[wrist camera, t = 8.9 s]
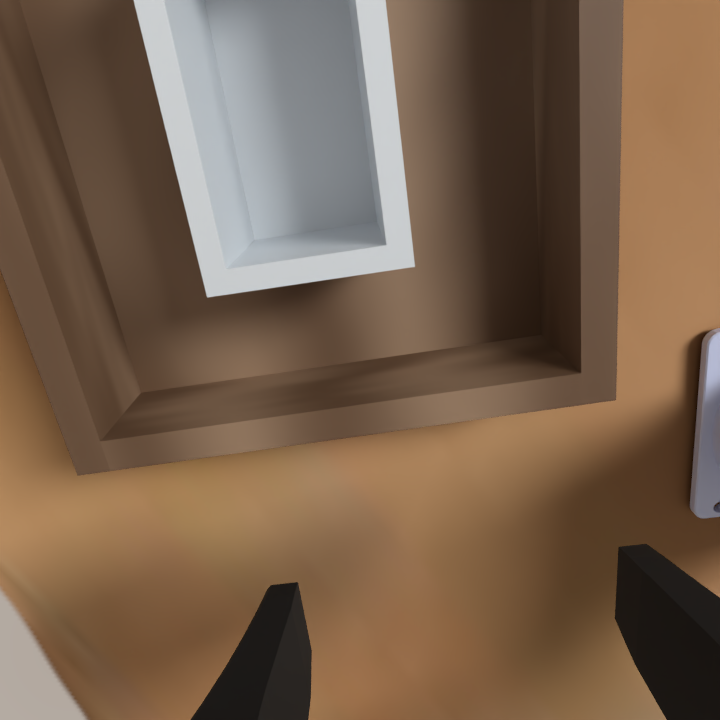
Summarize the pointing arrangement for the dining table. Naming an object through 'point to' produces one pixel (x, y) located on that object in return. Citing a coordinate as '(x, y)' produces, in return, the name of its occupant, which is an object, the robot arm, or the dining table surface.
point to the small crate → (282, 137)
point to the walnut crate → (328, 297)
